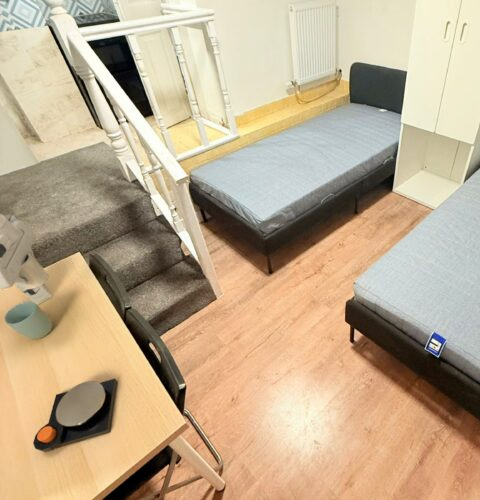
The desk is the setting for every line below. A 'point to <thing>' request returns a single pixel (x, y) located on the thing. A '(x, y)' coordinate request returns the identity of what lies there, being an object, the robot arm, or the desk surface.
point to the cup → (29, 320)
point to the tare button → (46, 434)
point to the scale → (85, 431)
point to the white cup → (33, 272)
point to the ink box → (36, 293)
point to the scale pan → (80, 404)
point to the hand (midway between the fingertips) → (29, 273)
